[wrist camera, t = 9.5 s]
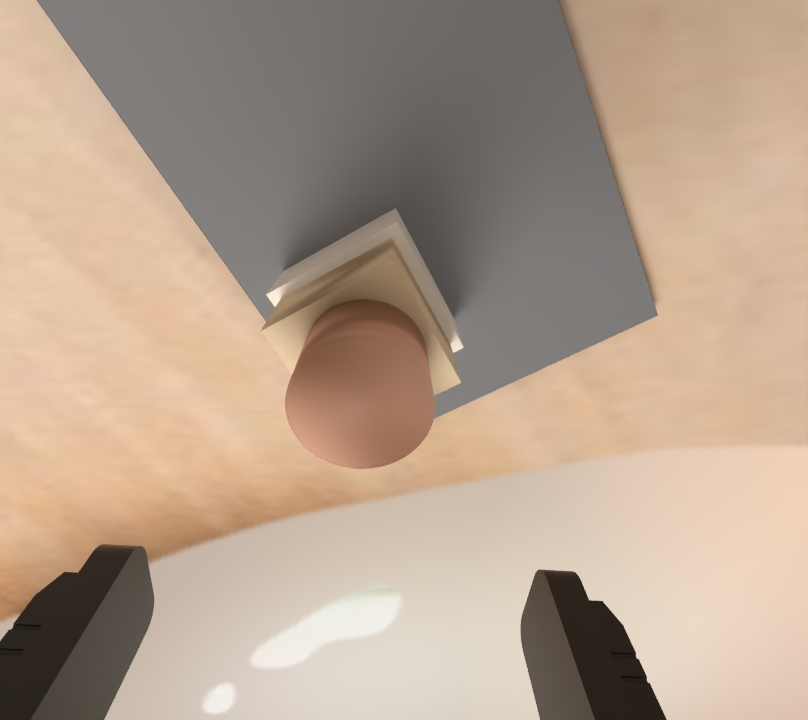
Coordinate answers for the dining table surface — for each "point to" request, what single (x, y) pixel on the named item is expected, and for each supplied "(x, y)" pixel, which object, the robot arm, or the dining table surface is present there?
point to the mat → (385, 153)
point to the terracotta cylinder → (361, 386)
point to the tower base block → (357, 245)
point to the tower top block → (359, 279)
